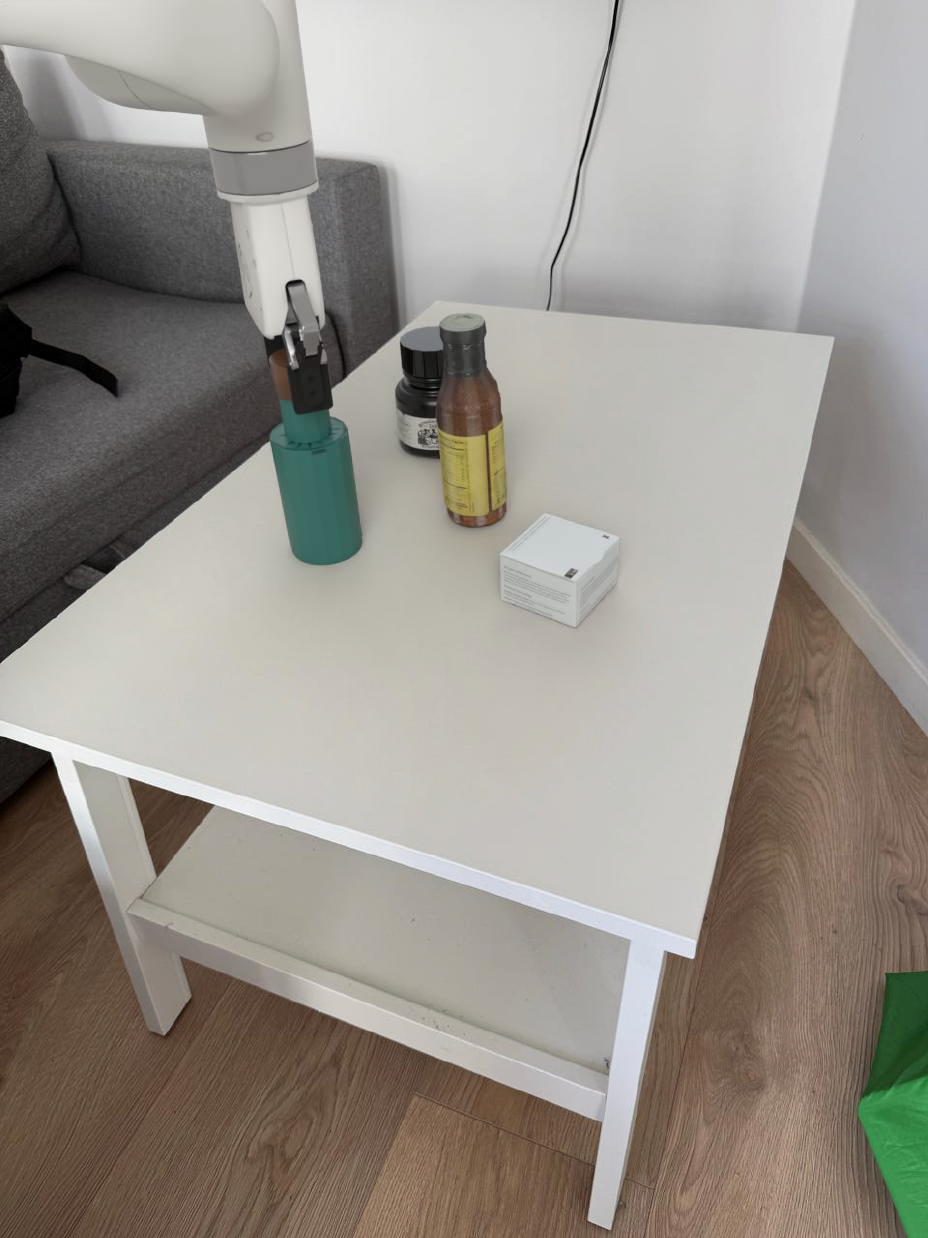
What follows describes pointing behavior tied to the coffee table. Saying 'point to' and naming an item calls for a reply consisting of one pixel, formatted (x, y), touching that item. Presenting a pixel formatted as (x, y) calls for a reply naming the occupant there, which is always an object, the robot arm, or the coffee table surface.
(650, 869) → the coffee table surface
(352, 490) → the bottle
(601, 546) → the small box
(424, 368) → the ink bottle
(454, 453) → the sauce bottle
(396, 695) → the coffee table surface
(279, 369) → the stopper
